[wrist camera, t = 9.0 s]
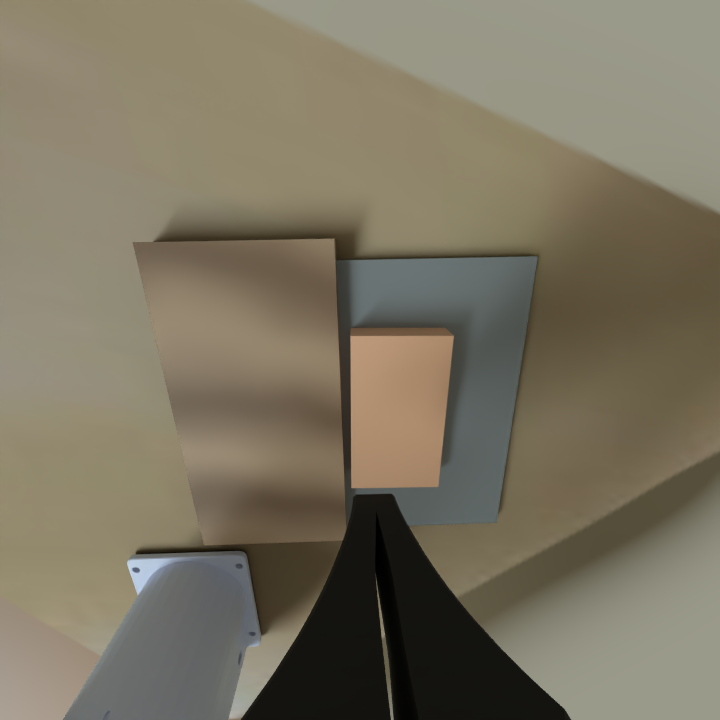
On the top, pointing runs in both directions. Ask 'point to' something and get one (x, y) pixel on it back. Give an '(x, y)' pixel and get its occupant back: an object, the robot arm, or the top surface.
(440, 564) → the top surface
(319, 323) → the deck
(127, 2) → the top surface
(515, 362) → the mat
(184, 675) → the robot arm
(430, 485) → the peach rectangular block
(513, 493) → the top surface
